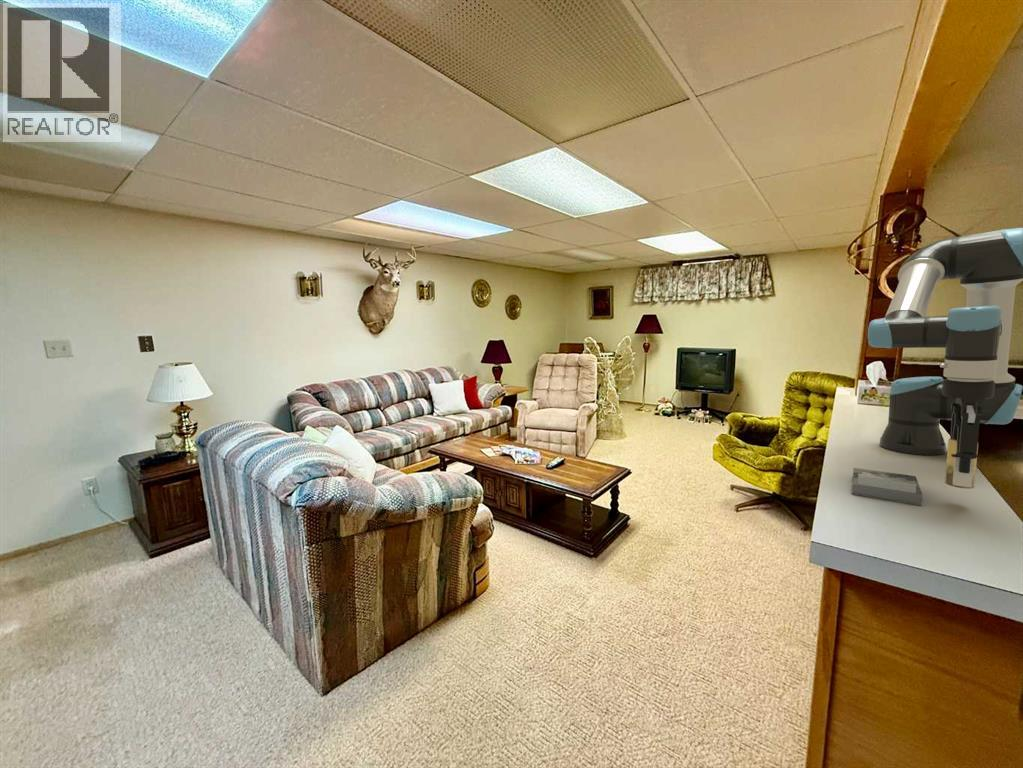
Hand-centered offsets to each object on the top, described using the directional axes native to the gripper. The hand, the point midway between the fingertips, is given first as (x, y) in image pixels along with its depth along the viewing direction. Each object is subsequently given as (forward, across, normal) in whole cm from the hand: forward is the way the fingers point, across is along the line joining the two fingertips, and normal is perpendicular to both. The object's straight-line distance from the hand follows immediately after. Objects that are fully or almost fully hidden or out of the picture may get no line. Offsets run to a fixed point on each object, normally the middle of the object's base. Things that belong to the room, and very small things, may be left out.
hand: (959, 481), depth 90 cm
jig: (+5, -2, -12) cm, 13 cm away
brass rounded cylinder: (+1, 0, 0) cm, 1 cm away
